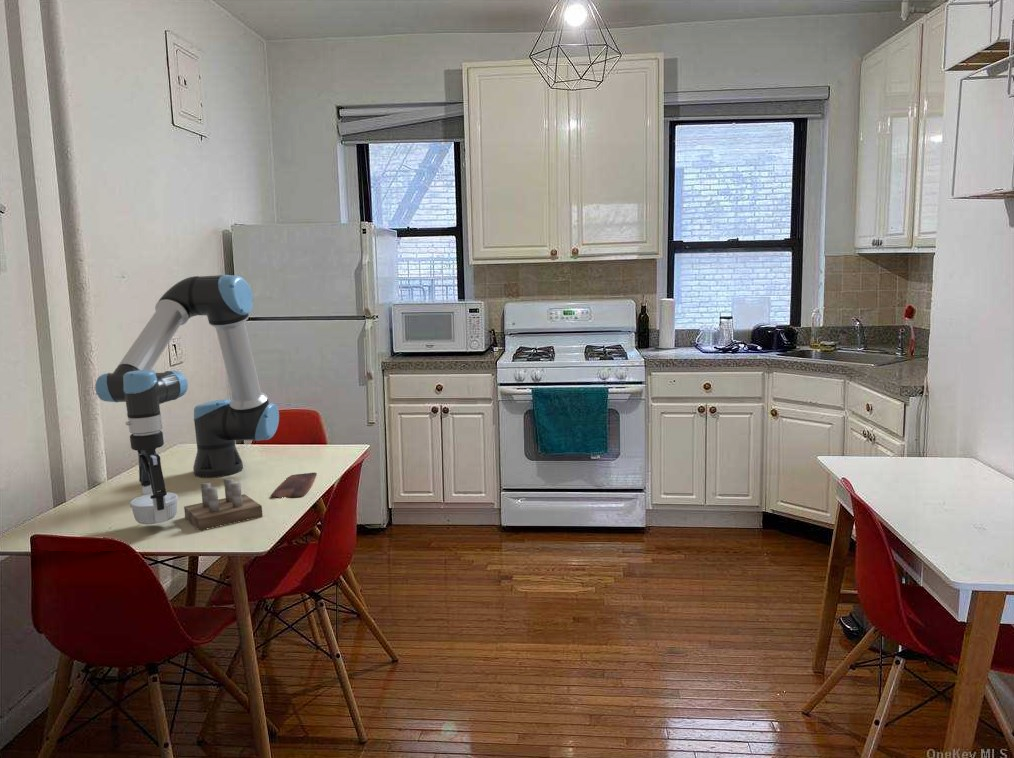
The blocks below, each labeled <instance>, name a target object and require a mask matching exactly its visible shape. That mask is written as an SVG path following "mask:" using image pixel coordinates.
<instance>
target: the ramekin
mask: <svg viewBox="0 0 1014 758" xmlns="http://www.w3.org/2000/svg"><path fill="white" fill-rule="evenodd" d="M166 492H167V491H166ZM151 495H153V493H152V494H147V495H143V494H142V495H140V496H137V497H135V498H133V499H132V500H130V502H129V507H130V508H131V511H132V515H133V517H134V519H135V521H136V522H137V523H138V524H141V525H156V524H158V523H155V516H154V508H153V499H151V498H150V497H151ZM178 500H179V497H178V494H177V493H174V492H167V495H165V503H166V512H167V520H168V521H170V520H173V518H175V516H176V515H177V512H178V510H177V509H178ZM164 522H166V521H164ZM164 522H160V523H159V524H162V523H164Z"/></svg>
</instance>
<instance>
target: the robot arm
mask: <svg viewBox="0 0 1014 758" xmlns="http://www.w3.org/2000/svg"><path fill="white" fill-rule="evenodd" d="M253 302H254V296H253V292H252V288H251V287H250V285H249V284H248V282H247V281H246V279H244V278H243V277H241V276H239V275H230V274H218V275H207V276H206V275H205V276H204V275H203V276H202V275H201V276H198V275H196V276H190V277H186V278H184V279H182V280H180V281H178V282H176V283H175V284H174V285H172V286H171V287H170V288H169V289H168V290H167V291H165V293H163V295H162V296H161V297H160V298H159V299H158V301H157V302H156V304H155V308H154V310H155V311H154V313H153V314H152V316H151V317H150V319H149V321H148V322H147V323H146V325H145V326H144V328H143V329H142V331H141V332H140V333H139V334H138V336H137V338H136V339H135V341H134V342H133V344H132V345H131V346H130V347H129V349H128V350H127V352H126V354H125V355H124V356H123V358H122V359H121V361H120V362H119V364H118V365H117V367H116V368H115V369H114V371H113V372H108V373H103V374H100V375H99V376H98V377H97V379H96V380H95V385H94V389H95V393H96V395H97V398H99V399H100V400H101V401H103V402H107V403H108V402H110V403H125V406H126V412H127V413H126V414H127V415H126V416H127V420H128V421H126V422H125V426H128V430H129V433H130V435H129V441H130V448H131V450H133V451H136V452H137V456H138V477H139V479H138V481H139V483H140V485H141V490H142V496H143V495H147V494H152V493H153V495H151V497H150V498H151V499H153V508H154V516H155V523H157V524H161V523H160V522H162V523H164V521H165V522H168V521H169V520H167V512H166V503H165V495H167V491H166V484H165V479H164V475H163V468H162V463H161V462H162V461H161V457H160V455H159V454H158V453H157V451H156V449H158V448H161V447H163V446H164V443H165V442H164V440H165V439H164V433H163V431H162V429H163V423H162V415H161V414H162V413H161V407H160V405H161V404H164V403H167V402H172V401H175V400H178V399H179V398H181V397H182V396H184V395H185V394H187V393H186V392H187V391H188V388H189V386H188V385H189V384H188V383H189V382H188V379H187V378H186V376H185V375H184V374H183V373H182V372H180V371H179V370H166V371H164V372H156V371H155V370H153V367H154V366H155V364H156V363H157V362H158V360H159V359H160V357H161V356H162V354H163V352H164V351H165V349H166V347H167V346H168V345H169V343H170V342H171V340H172V338H173V336H174V335H175V334H176V332H177V331H178V329H179V328H180V327H181V326H183V325H186V323H187V322H188V321H189V320H190V319H191V318H193V317H197V316H207V322H208V324H209V325H210V326H212V327H214V329H215V330H216V335H217V339H218V341H219V346H220V349H221V355H222V360H223V363H224V366H225V370H226V375H227V378H228V383H229V386H230V391H231V395H232V399H230V398H224V399H218V400H212V401H207V402H203V403H200V404H197V405H195V407H194V408H193V421H194V430H195V440H196V449H197V450H196V456H195V457H194V458H195V459H194V462H193V467H192V469H193V470H192V472H193V475H194V476H195V477H197V476H199V477H198V478H217V477H218V476H220V477H225V475H226V476H230V474H231V475H234V474H237V473H239V471H240V472H241V471H242V469H243V470H244V465H243V464H244V463H243V460H242V458H241V455H240V454H239V451H238V449H237V446H236V441H256V442H257V441H267V440H270V439H272V438H273V437H274V435H275V434H276V432H277V430H278V427H279V421H280V411H279V408H278V405H276V404H275V403H272V402H271V403H270V402H269V399H268V398H269V397H268V395H267V394H266V393H264V392H262V390H261V385H260V381H259V377H258V372H257V369H256V363H255V359H254V354H253V351H252V347H251V342H250V337H249V334H248V329H247V325H246V322H247V320H248V319H249V318H250V315H249V313H251V311H252V310H253V307H254V303H253ZM218 478H219V477H218Z"/></svg>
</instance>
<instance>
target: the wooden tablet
mask: <svg viewBox="0 0 1014 758" xmlns="http://www.w3.org/2000/svg"><path fill="white" fill-rule="evenodd" d="M316 478H317V472H315V471H314V472H307V473H306V472H305V473H298V474H292V475H289V476H287V477H286V478H285V479H286V480H285V479H284V481H282V482H281V483H280V484H279V485H278V486H277V487H276V488H275V489H274V491H272V493H271V495H270V498H271V499H272V498H279V499H284V497H286V498H285V499H298V498H302V497H303V498H304V496H305V495H306V494H307V493H308V492H309V491H310V489H311V488H312V486H313V484H314V483H315V480H316ZM282 497H283V498H282Z"/></svg>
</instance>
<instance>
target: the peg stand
mask: <svg viewBox="0 0 1014 758" xmlns="http://www.w3.org/2000/svg"><path fill="white" fill-rule="evenodd" d="M234 481H235V480H234V478H233V477H231V478H225V479H224V480H223V484H224V485H223V486H224V493H225V495H224V496H225V497H224V498H220V499H219V496H218V495H219V494H218V487H215V486H214V487H212V485H211V482H203V483H200V490H201V491H200V492H201V499H202V502H200V503H196V504H189V505H184V506H183V511H184V518H185V519H186V520H187V521H188V520H189V521H188V522H189V523H190V524H191V525H192V526H194V527H195V528H196V529H197V528H198V529H199V530H201V531H204V530H203V529H205V530H208V529H207V528H210V529H213V528H212V527H214V528H217V527H216V526H219V527H221V526H220V525H223V526H225V525H224V524H228V525H230V524H229V523H232V524H235V523H234V522H237V523H239V522H238V521H241V522H244V521H243V520H246V521H248V520H247V519H250V520H252V519H251V518H255V519H258V517H259V518H263V507H262V506H263V505H262V504H260V503H258V502H257V501H255V500H254V499H252V498H251V497H249V496H248V495H247V494H243V493H242V485H241V482H234ZM198 529H197V530H198ZM199 530H198V531H199Z"/></svg>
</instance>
